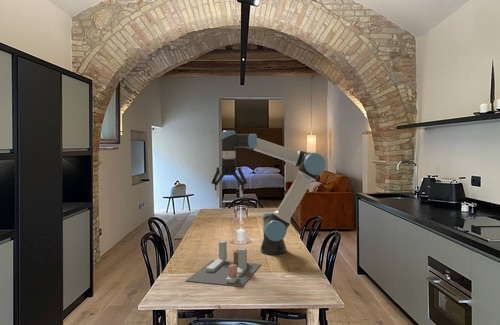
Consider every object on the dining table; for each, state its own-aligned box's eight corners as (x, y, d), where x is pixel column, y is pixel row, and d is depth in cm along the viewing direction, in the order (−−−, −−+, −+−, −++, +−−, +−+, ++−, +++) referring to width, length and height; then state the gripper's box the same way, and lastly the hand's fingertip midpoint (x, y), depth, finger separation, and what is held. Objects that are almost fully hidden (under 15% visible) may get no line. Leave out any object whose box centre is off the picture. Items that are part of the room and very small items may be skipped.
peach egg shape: (230, 274, 176) (230, 263, 176) (238, 275, 175) (238, 264, 175) (227, 277, 172) (227, 266, 172) (235, 277, 171) (235, 267, 171)
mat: (211, 260, 205) (211, 260, 205) (261, 264, 197) (261, 264, 197) (185, 281, 174) (185, 280, 174) (242, 286, 166) (242, 286, 166)
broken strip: (239, 268, 190) (239, 248, 189) (247, 268, 189) (247, 248, 188) (225, 282, 170) (225, 260, 170) (234, 283, 169) (233, 260, 168)
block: (237, 262, 200) (236, 249, 200) (246, 263, 199) (246, 250, 198) (233, 265, 195) (233, 252, 195) (243, 266, 193) (243, 253, 193)
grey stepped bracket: (220, 259, 205) (220, 240, 205) (227, 259, 204) (227, 241, 204) (205, 271, 186) (205, 250, 185) (213, 271, 184) (212, 251, 184)
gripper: (205, 158, 206) (206, 197, 207) (248, 158, 199) (249, 198, 200) (210, 158, 213) (211, 195, 214) (252, 158, 206) (252, 196, 207)
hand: (229, 196), depth 207 cm, fingers open, 13 cm apart
